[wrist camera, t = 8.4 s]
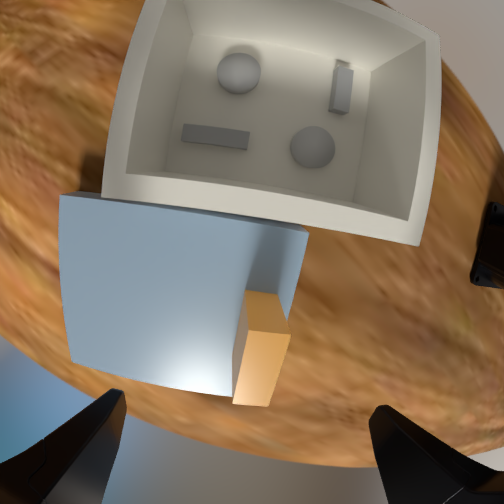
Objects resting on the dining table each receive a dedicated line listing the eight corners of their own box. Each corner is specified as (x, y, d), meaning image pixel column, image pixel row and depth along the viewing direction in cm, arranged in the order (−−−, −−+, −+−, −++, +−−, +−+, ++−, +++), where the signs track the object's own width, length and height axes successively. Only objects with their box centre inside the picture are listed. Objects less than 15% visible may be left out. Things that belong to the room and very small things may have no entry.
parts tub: (377, 69, 12) (439, 34, 7) (356, 217, 15) (418, 246, 9) (183, 29, 11) (160, -33, 5) (152, 185, 14) (101, 197, 8)
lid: (299, 224, 15) (335, 256, 9) (260, 378, 18) (269, 444, 12) (78, 190, 13) (15, 205, 8) (83, 345, 16) (48, 397, 11)
